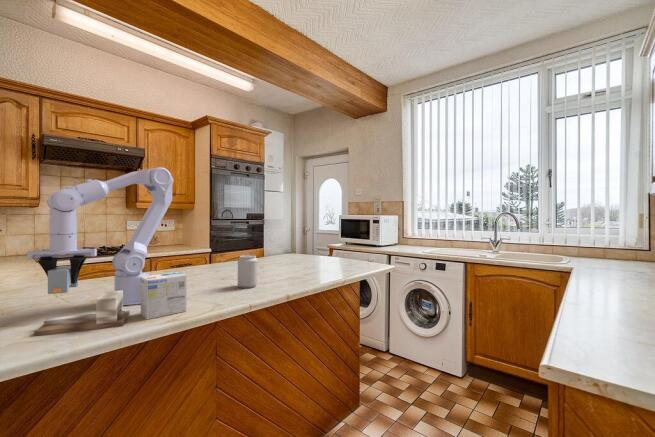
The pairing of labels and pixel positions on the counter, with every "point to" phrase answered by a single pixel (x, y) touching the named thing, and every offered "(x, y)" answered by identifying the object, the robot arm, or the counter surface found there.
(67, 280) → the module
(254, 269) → the can
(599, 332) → the counter surface
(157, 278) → the light bulb box
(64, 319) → the board
